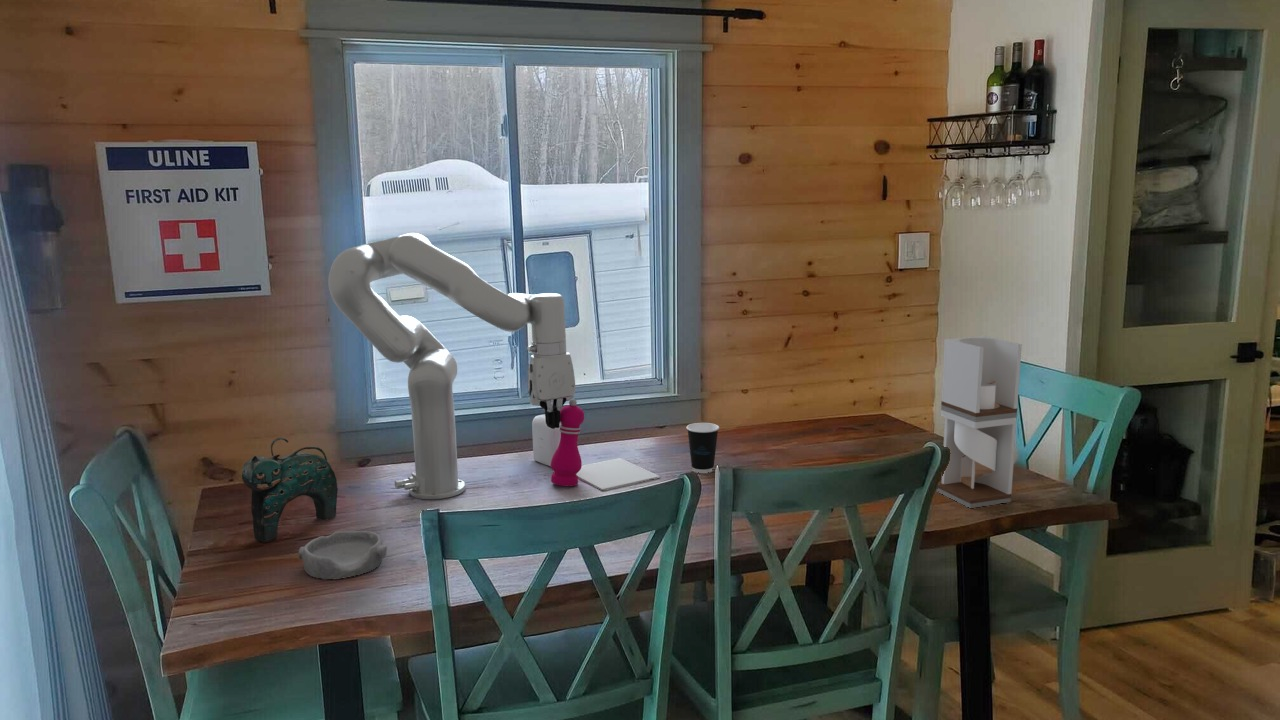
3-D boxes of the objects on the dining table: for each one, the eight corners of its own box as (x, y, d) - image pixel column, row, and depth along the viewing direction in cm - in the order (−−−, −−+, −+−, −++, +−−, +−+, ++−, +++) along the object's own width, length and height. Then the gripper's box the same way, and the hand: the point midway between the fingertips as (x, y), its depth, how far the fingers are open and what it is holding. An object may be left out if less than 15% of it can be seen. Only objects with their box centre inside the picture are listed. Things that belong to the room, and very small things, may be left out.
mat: (602, 491, 211) (602, 489, 211) (564, 471, 225) (564, 469, 225) (659, 478, 219) (659, 476, 219) (619, 459, 234) (619, 457, 234)
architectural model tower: (936, 492, 207) (944, 339, 200) (975, 486, 211) (984, 335, 204) (970, 509, 197) (979, 347, 190) (1010, 502, 200) (1021, 344, 193)
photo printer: (530, 460, 235) (529, 413, 232) (545, 456, 237) (543, 410, 235) (553, 469, 227) (552, 421, 224) (567, 466, 229) (566, 418, 227)
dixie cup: (696, 477, 220) (696, 432, 218) (680, 468, 227) (680, 425, 224) (725, 472, 223) (725, 428, 221) (708, 463, 230) (708, 421, 228)
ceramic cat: (260, 547, 181) (250, 449, 177) (241, 540, 184) (231, 444, 180) (344, 517, 197) (337, 426, 193) (325, 511, 200) (317, 422, 196)
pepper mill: (575, 488, 211) (585, 403, 209) (545, 483, 212) (554, 398, 210) (582, 481, 218) (591, 398, 216) (553, 477, 219) (561, 394, 217)
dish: (397, 565, 172) (395, 540, 171) (329, 590, 162) (327, 563, 161) (355, 546, 181) (353, 521, 180) (288, 568, 171) (286, 543, 170)
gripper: (526, 355, 201) (531, 436, 204) (586, 346, 208) (589, 425, 212) (512, 350, 207) (516, 429, 210) (570, 342, 215) (573, 418, 218)
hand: (553, 426), depth 211 cm, fingers closed
